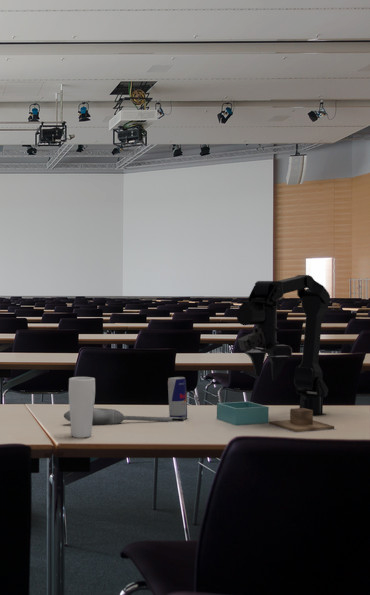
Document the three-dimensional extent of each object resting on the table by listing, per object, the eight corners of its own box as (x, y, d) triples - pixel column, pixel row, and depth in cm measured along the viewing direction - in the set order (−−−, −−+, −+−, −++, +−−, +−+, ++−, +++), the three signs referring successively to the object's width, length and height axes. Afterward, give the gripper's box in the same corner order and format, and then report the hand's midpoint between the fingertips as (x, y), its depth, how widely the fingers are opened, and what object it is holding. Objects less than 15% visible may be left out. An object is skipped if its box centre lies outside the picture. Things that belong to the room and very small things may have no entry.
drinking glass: (69, 433, 188) (69, 376, 188) (95, 433, 189) (95, 376, 189) (66, 439, 181) (67, 379, 181) (93, 439, 182) (94, 380, 182)
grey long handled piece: (172, 428, 220) (185, 428, 208) (57, 424, 210) (64, 424, 197) (172, 412, 221) (185, 411, 209) (58, 408, 211) (65, 406, 198)
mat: (306, 422, 211) (306, 420, 211) (336, 430, 199) (336, 429, 199) (266, 425, 205) (266, 423, 205) (295, 434, 193) (295, 432, 193)
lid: (306, 421, 211) (306, 404, 211) (334, 429, 199) (334, 411, 199) (269, 424, 205) (269, 407, 205) (295, 432, 193) (295, 414, 193)
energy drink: (187, 419, 211) (185, 378, 211) (168, 420, 211) (166, 379, 211) (187, 416, 216) (186, 376, 216) (170, 416, 216) (168, 377, 216)
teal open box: (248, 417, 217) (248, 401, 217) (268, 424, 207) (268, 406, 207) (216, 420, 212) (216, 403, 212) (235, 426, 202) (235, 408, 202)
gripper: (226, 323, 212) (226, 375, 212) (258, 326, 195) (257, 383, 195) (259, 322, 217) (259, 374, 217) (293, 325, 200) (292, 381, 200)
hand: (265, 378), depth 207 cm, fingers open, 9 cm apart
